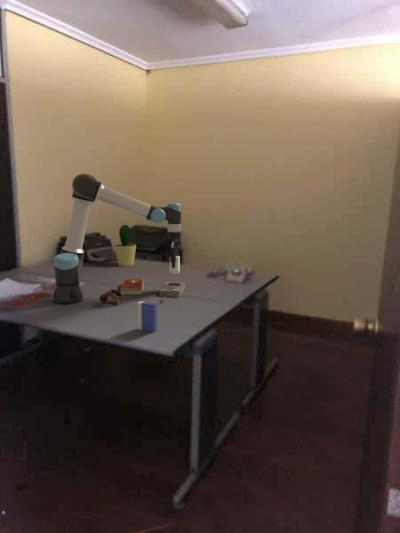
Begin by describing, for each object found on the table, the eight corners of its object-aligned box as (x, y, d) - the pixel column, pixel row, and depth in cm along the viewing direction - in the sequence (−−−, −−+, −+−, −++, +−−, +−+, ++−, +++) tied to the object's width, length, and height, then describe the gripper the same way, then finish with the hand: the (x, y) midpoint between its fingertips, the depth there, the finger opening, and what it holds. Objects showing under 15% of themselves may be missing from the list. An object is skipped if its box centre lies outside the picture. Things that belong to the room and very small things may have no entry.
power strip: (175, 303, 198) (175, 297, 197) (154, 302, 199) (154, 296, 199) (185, 287, 230) (185, 281, 229) (166, 286, 231) (166, 280, 230)
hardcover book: (119, 295, 213) (119, 288, 212) (124, 285, 233) (124, 278, 232) (142, 295, 214) (141, 287, 213) (144, 285, 234) (144, 278, 233)
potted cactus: (122, 267, 278) (121, 225, 272) (111, 264, 290) (110, 223, 283) (140, 265, 288) (140, 224, 282) (129, 261, 299) (128, 222, 293)
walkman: (157, 329, 163) (157, 302, 161) (154, 332, 161) (153, 304, 158) (140, 327, 166) (140, 300, 164) (137, 329, 164) (136, 301, 161)
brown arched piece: (108, 300, 204) (116, 287, 202) (119, 311, 200) (127, 298, 198) (91, 300, 193) (99, 286, 191) (103, 312, 189) (111, 298, 187)
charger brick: (178, 273, 220) (178, 257, 218) (169, 273, 220) (169, 257, 218) (179, 271, 225) (179, 256, 223) (171, 271, 225) (171, 255, 223)
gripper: (178, 233, 208) (178, 275, 213) (183, 229, 226) (183, 268, 231) (164, 233, 209) (164, 275, 214) (170, 229, 227) (171, 268, 232)
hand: (174, 271), depth 222 cm, fingers closed on charger brick, 5 cm apart
